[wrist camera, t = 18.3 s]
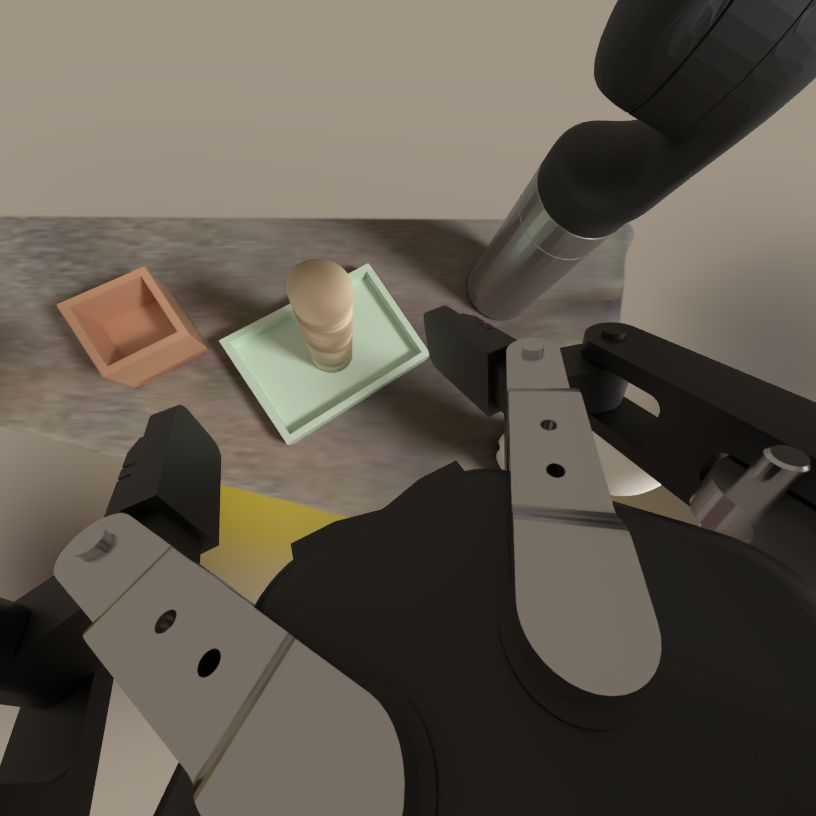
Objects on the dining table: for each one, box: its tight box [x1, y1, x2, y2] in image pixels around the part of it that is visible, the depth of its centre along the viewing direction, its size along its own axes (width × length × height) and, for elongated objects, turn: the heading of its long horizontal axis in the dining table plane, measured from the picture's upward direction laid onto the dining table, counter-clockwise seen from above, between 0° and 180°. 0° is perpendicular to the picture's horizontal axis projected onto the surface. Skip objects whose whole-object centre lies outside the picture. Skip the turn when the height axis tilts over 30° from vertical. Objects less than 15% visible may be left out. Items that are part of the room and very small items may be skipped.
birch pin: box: [286, 259, 353, 373], centre depth 32 cm, size 5×5×15 cm
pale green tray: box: [219, 263, 429, 445], centre depth 39 cm, size 20×14×2 cm
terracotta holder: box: [57, 266, 210, 388], centre depth 34 cm, size 9×9×5 cm
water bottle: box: [496, 431, 661, 496], centre depth 30 cm, size 7×7×25 cm
